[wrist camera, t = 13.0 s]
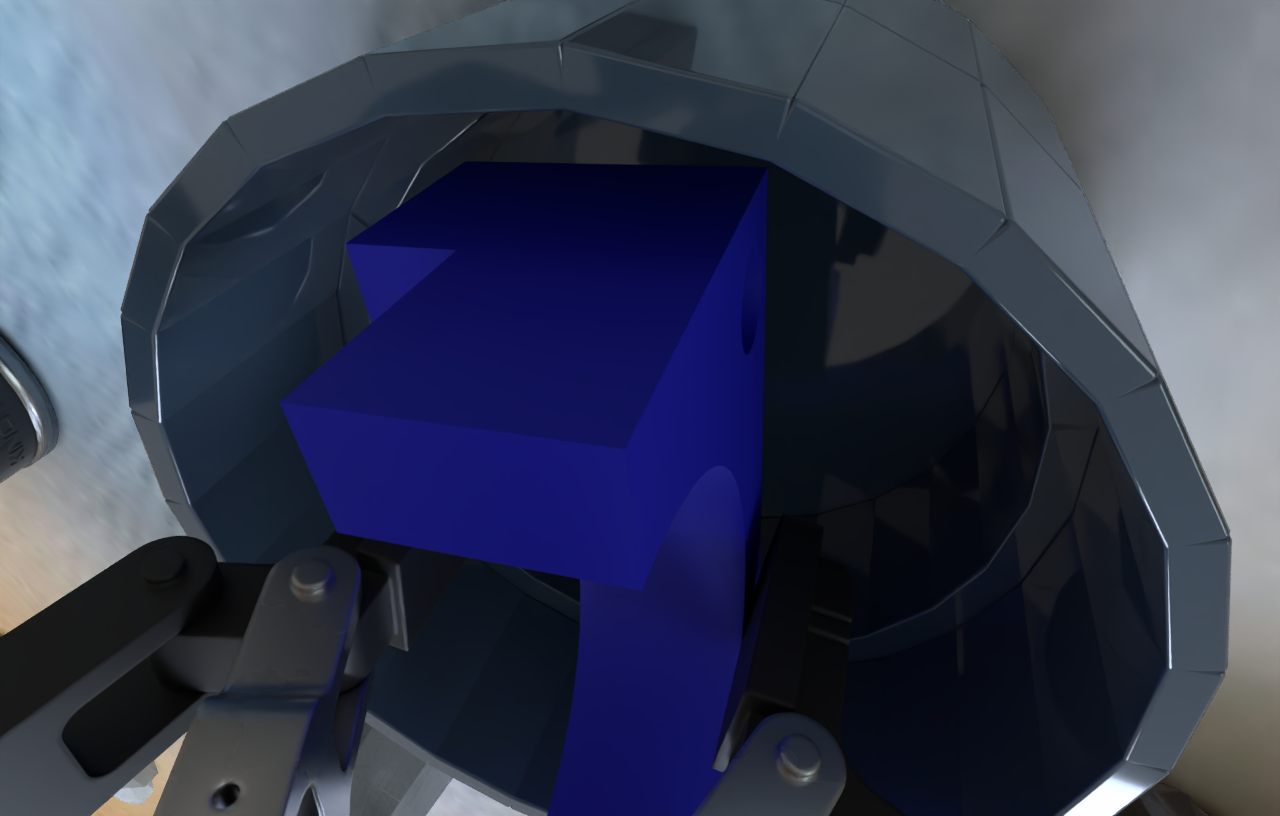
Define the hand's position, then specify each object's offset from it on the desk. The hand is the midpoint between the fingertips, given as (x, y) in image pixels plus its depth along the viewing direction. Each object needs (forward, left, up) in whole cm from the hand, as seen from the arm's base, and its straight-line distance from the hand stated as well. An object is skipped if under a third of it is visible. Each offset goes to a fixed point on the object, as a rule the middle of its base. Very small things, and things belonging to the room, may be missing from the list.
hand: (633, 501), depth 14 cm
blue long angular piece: (0, 0, -1) cm, 1 cm away
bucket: (0, 0, -7) cm, 7 cm away
